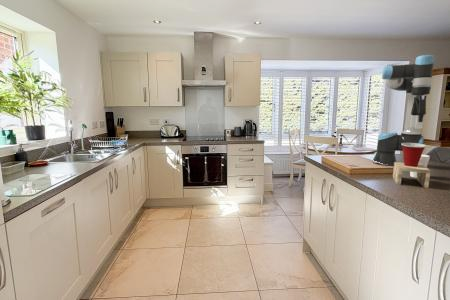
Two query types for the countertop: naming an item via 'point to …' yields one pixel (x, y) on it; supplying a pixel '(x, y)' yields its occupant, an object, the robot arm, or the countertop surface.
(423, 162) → the foam cup
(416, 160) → the plastic cup
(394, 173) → the oak shelf
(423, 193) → the countertop surface
